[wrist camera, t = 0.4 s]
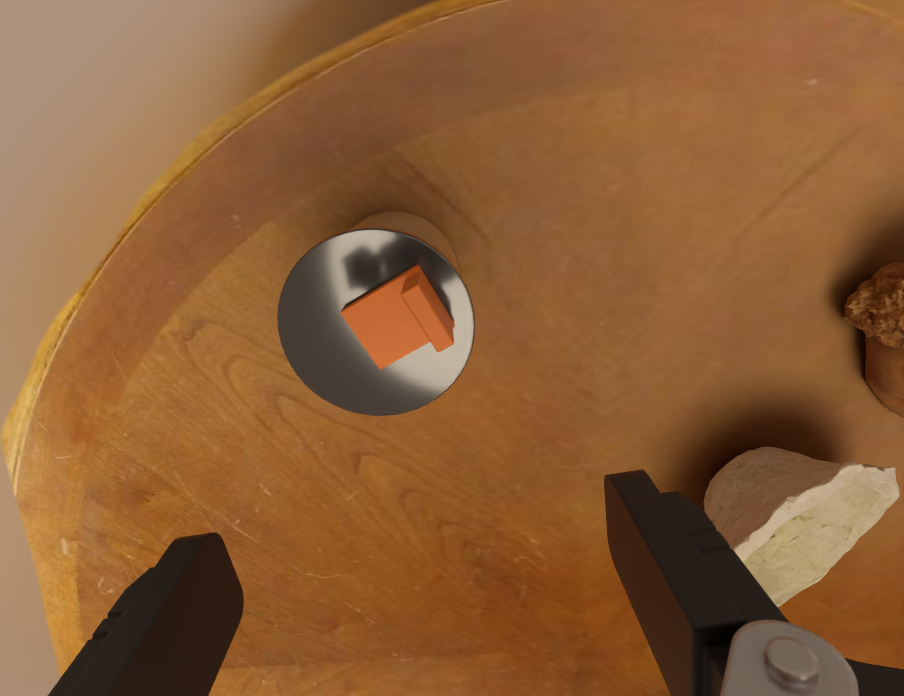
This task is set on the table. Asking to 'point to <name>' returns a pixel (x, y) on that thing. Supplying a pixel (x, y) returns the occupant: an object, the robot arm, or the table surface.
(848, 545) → the bowl
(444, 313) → the slider
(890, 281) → the stuffed squirrel
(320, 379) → the lidded canister
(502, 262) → the table surface
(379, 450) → the table surface
